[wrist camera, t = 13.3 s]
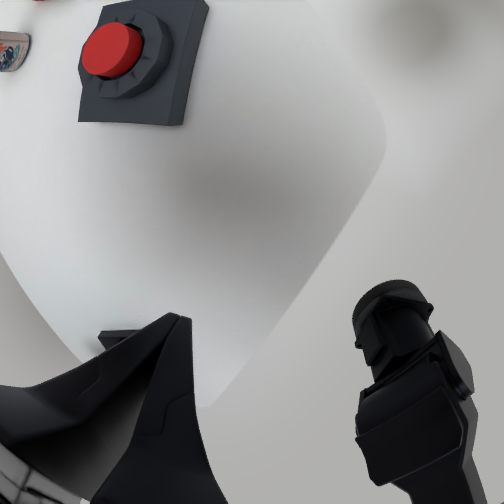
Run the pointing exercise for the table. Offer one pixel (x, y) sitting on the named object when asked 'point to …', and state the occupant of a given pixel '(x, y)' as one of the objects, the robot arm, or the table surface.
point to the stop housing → (147, 64)
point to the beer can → (12, 50)
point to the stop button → (112, 50)
